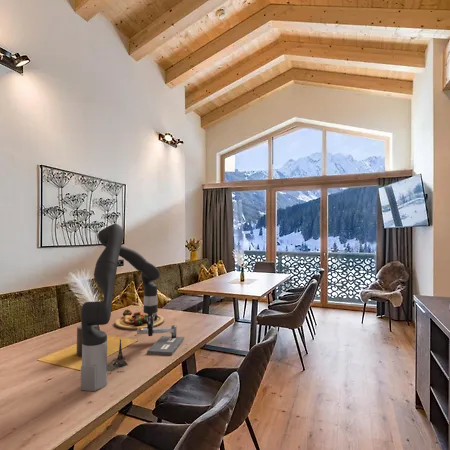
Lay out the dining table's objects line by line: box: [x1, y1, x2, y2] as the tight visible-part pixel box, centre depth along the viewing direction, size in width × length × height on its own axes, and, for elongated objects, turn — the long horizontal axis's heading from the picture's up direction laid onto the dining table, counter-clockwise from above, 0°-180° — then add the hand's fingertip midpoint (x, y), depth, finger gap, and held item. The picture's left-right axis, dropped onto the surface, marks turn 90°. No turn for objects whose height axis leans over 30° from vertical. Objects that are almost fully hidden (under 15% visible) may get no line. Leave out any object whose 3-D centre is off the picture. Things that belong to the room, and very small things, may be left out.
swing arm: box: [136, 324, 177, 338], centre depth 173 cm, size 21×4×6 cm, turn 98°
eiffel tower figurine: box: [107, 337, 129, 373], centre depth 143 cm, size 15×10×13 cm
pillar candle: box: [75, 324, 99, 358], centre depth 157 cm, size 10×10×15 cm
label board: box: [146, 335, 185, 356], centre depth 165 cm, size 22×13×2 cm, turn 172°
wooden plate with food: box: [114, 308, 165, 331], centre depth 208 cm, size 32×32×8 cm
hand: (150, 335), depth 169 cm, fingers closed
